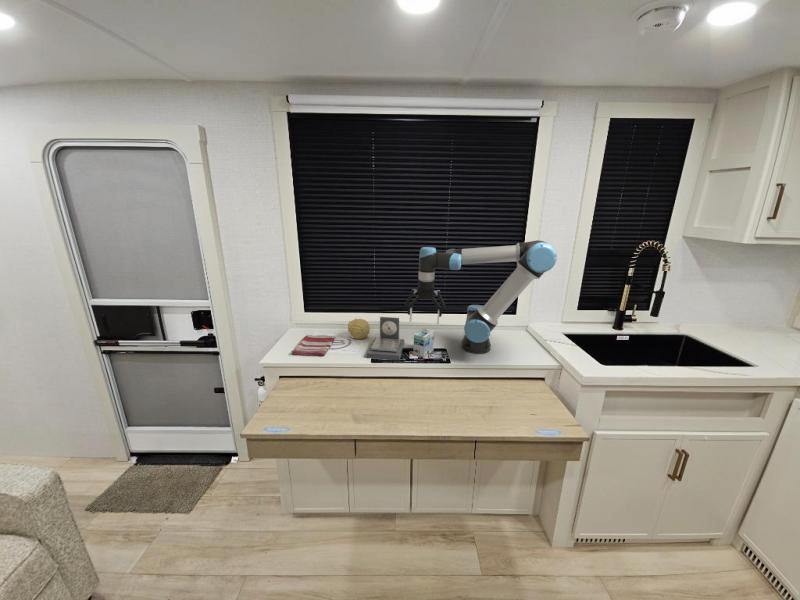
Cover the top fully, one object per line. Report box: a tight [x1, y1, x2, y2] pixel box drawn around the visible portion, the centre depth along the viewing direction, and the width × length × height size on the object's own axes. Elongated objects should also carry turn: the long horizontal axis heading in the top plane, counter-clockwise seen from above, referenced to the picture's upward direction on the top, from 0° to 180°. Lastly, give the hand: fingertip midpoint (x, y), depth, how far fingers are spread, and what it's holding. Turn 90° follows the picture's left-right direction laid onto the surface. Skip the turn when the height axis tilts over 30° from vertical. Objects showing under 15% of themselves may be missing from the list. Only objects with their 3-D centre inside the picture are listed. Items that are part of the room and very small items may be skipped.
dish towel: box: [290, 334, 337, 358], centre depth 171 cm, size 17×23×3 cm
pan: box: [371, 337, 402, 352], centre depth 166 cm, size 13×13×2 cm
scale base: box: [366, 316, 405, 361], centre depth 166 cm, size 16×20×14 cm
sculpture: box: [347, 318, 371, 340], centre depth 183 cm, size 11×12×11 cm
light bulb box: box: [412, 327, 435, 358], centre depth 165 cm, size 11×7×11 cm, turn 148°
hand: (424, 321), depth 162 cm, fingers open, 13 cm apart
